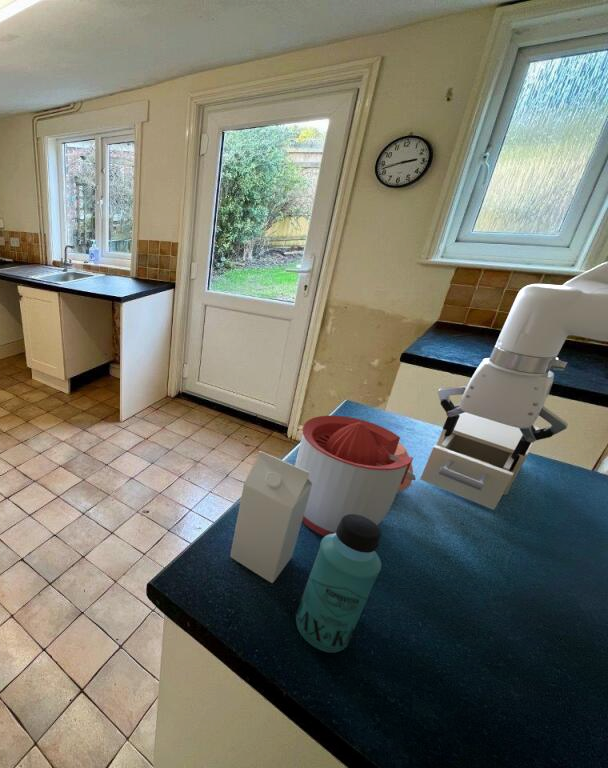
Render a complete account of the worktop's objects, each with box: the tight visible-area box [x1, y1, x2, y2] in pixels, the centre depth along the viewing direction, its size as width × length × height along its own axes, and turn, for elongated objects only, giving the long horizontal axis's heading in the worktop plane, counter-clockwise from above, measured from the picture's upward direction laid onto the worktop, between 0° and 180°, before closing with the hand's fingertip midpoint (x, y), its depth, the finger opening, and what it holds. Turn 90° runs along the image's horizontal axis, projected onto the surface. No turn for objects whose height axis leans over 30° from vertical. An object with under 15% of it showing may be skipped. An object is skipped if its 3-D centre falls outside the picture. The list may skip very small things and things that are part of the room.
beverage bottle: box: [295, 514, 382, 654], centre depth 51 cm, size 6×7×20 cm
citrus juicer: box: [294, 415, 416, 537], centre depth 70 cm, size 16×17×20 cm
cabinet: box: [435, 412, 541, 496], centre depth 86 cm, size 15×13×10 cm
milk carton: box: [229, 450, 312, 584], centre depth 63 cm, size 7×7×19 cm
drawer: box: [419, 433, 514, 511], centre depth 79 cm, size 19×11×8 cm, turn 130°
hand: (480, 444), depth 77 cm, fingers open, 9 cm apart
